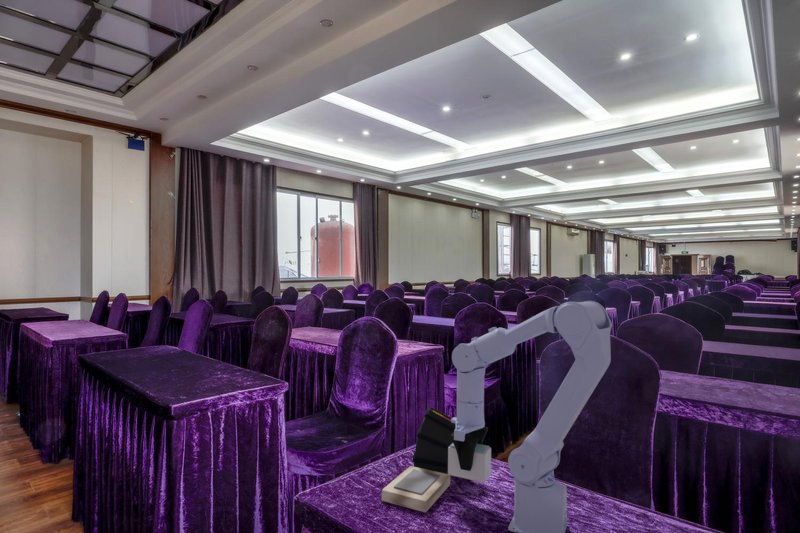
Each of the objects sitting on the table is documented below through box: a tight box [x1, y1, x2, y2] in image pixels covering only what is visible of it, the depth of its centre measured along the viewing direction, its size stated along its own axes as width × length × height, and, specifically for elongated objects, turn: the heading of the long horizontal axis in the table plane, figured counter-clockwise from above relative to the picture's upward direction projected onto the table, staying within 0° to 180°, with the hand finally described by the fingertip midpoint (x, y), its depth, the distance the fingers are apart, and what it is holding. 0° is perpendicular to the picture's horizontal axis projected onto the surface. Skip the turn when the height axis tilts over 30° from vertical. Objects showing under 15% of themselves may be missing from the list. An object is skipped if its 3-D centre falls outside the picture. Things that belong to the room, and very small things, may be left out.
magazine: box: [412, 406, 456, 474], centre depth 109 cm, size 4×13×15 cm, turn 84°
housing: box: [448, 443, 492, 484], centre depth 94 cm, size 8×4×6 cm, turn 63°
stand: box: [381, 465, 451, 513], centre depth 97 cm, size 10×14×2 cm
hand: (469, 465), depth 94 cm, fingers closed on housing, 4 cm apart
